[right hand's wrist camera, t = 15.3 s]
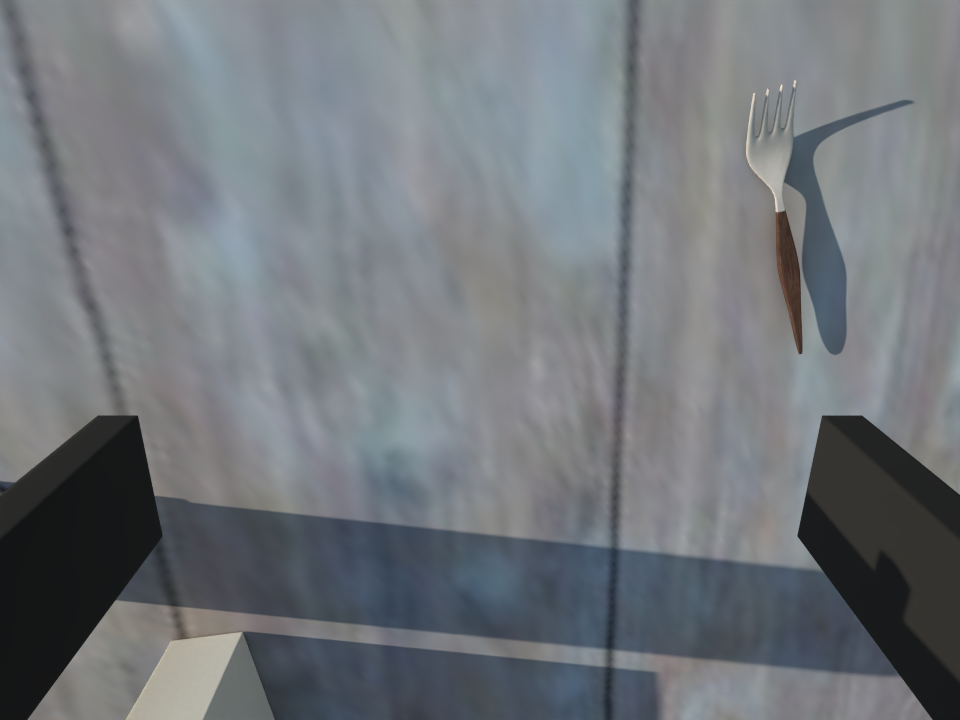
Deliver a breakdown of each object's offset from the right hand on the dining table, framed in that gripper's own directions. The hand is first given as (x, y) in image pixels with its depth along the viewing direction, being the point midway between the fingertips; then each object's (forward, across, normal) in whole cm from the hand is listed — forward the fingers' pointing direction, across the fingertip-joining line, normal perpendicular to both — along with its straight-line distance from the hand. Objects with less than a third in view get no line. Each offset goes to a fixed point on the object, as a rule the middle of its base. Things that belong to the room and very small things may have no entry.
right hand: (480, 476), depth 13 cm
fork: (+28, +18, 0) cm, 33 cm away
